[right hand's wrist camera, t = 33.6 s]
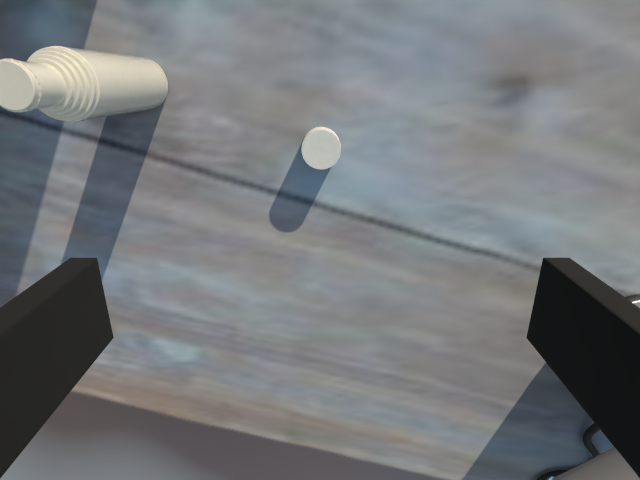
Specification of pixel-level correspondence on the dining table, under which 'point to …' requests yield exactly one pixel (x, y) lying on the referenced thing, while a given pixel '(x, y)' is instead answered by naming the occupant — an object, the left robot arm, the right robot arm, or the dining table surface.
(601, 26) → the dining table surface
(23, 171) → the dining table surface
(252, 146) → the dining table surface
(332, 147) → the cap
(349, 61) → the dining table surface
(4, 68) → the bottle
